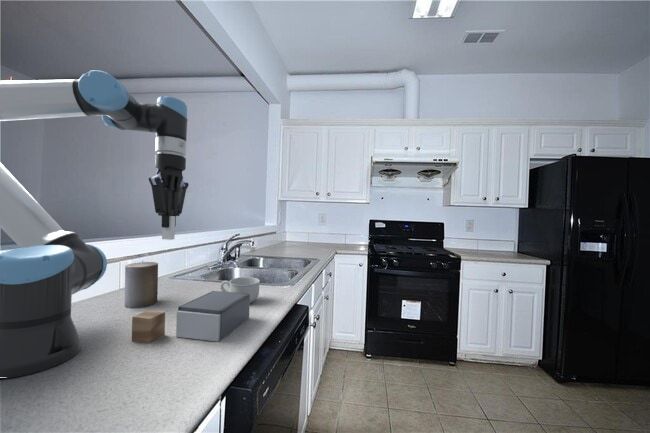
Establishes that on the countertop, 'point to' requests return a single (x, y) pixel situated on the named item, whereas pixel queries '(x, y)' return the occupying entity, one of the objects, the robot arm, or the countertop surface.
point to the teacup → (243, 286)
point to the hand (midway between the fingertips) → (168, 239)
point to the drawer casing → (222, 308)
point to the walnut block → (148, 326)
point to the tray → (198, 325)
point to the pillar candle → (141, 284)
